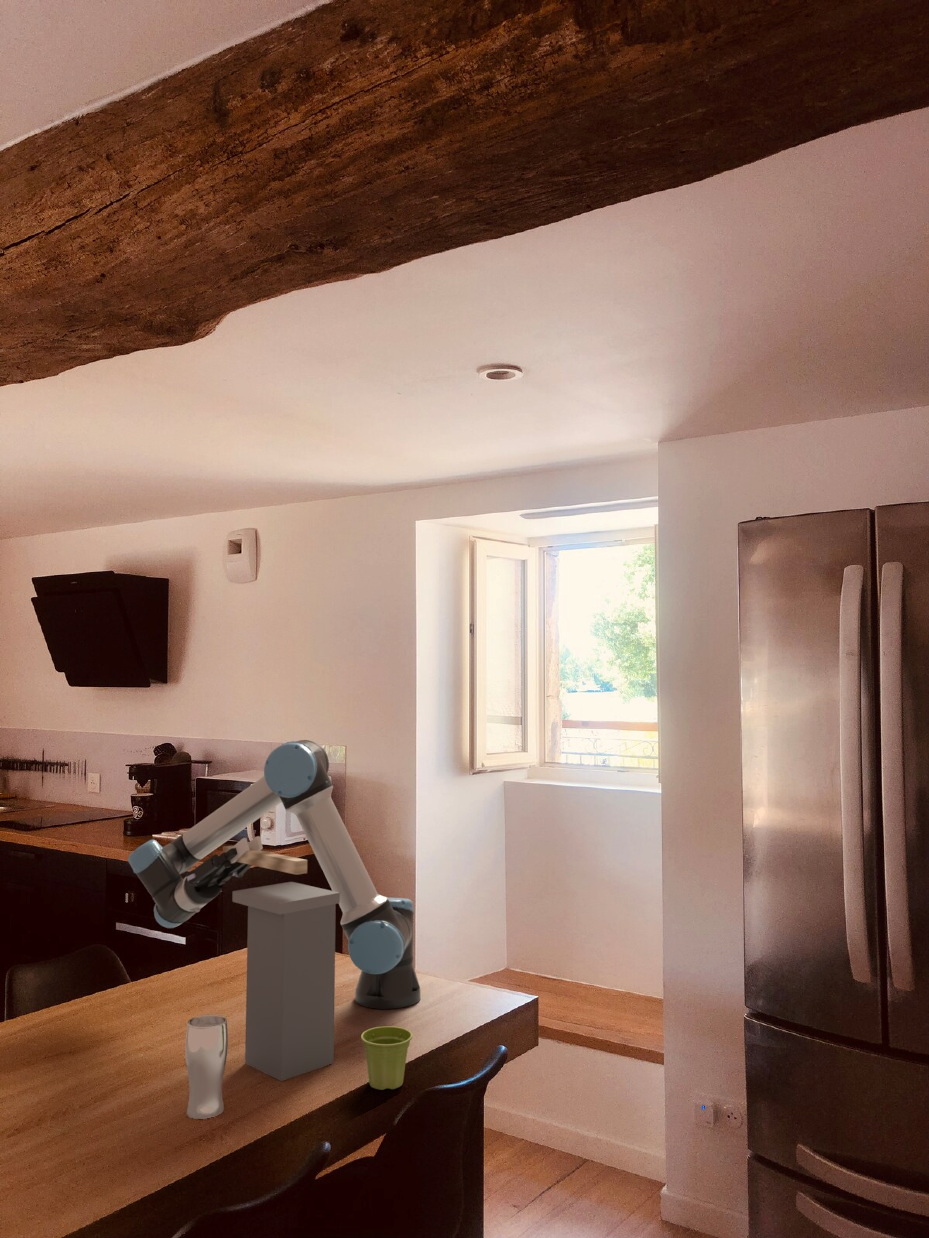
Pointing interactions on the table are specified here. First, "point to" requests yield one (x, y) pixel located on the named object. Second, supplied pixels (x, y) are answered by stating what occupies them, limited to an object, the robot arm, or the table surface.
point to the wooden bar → (272, 861)
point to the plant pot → (386, 1055)
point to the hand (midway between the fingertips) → (253, 843)
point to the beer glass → (206, 1064)
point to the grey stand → (289, 978)
